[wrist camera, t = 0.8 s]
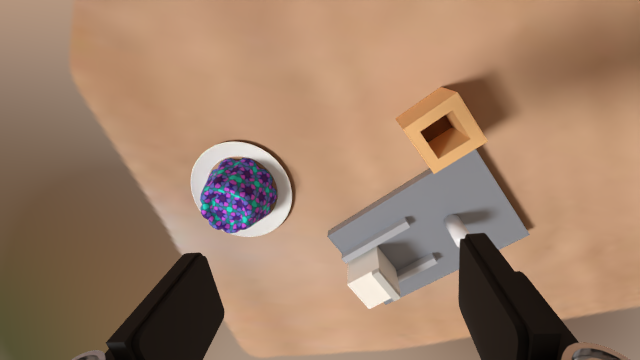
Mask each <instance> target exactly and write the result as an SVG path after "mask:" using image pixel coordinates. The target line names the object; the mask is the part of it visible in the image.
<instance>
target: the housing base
mask: <svg viewBox="0 0 640 360" xmlns="http://www.w3.org/2000/svg"><path fill="white" fill-rule="evenodd" d="M474 233H485V234H486V235H487V236H488V237H489V238H490V240H491V241H492V242H493V244H494V245H495V246H496V248H497V249H498V250H499V249H502V248H504V247H506V246H508V245H510V244H512V243H514V242H516V241H518V240H520V239H522V238H524V237H526V236H528V235H530V234H529V233H528V231H527V230H526V228H525V226H524V225H523V223H522V222H521V220H520V218H519V217H518V215H517V214H516V212H515V211H514V209H513V207H512V206H511V204H510V203H509V201H508V199H507V198H506V196H505V195H504V193H503V192H502V190H501V188H500V187H499V185H498V184H497V182H496V180H495V179H494V177H493V176H492V174H491V173H490V171H489V169H488V168H487V166H486V165H485V163H484V161H483V160H482V158H481V157H480V155H479V154H478V152H477V150H476V149H475V150H473V151H471V152H470V153H468V154H466V155H465V156H463V157H461V158H460V159H458V160H457V161H455V162H453V163H452V164H450V165H448V166H447V167H445V168H443V169H442V170H440V171H438V172H437V173H435V174H433V172H432V171H431V169H430V168H429V169H428V170H426V171H425V172H423V173H421V174H420V175H418V176H416V177H415V178H413V179H412V180H410V181H408V182H407V183H405V184H404V185H402V186H400V187H399V188H397V189H395V190H394V191H392V192H391V193H389V194H387V195H386V196H384V197H382V198H381V199H379V200H378V201H376V202H374V203H373V204H371V205H370V206H368V207H366V208H365V209H363V210H361V211H360V212H358V213H357V214H355V215H353V216H352V217H350V218H349V219H347V220H345V221H344V222H342V223H340V224H339V225H337V226H336V227H334V228H332V229H331V230H329V231H328V236H327V237H328V238H329V239H330V240H331V241H332V242H333V244H334V245H335V246H336V247H337V248H338V249H339V251H340V252H341V253H342V260H343V261H344V262H345V263H347V262H349V261H351V260H353V259H355V258H356V257H358V256H360V255H362V254H363V253H365V252H367V251H369V250H371V249H372V248H374V247H376V246H378V248H379V249H380V250H381V251H382V252H383V254H384V255H385V256H386V257H387V259H388V260H389V261H390V262H391V264H392V265H393V266H394V267H395V269H396V272H397V277H398V282H399V287H400V292H401V294H400V297H403V296H405V295H407V294H409V293H411V292H413V291H415V290H417V289H419V288H421V287H423V286H425V285H428V284H430V283H432V282H434V281H436V280H438V279H440V278H442V277H444V276H446V275H448V274H450V273H452V272H454V271H456V270H458V269H459V252H460V239H464V238H465V236H466V234H474ZM391 302H393V299H392V298H391V299H389V300H387V301H385V302H384V303H385V304H388V303H391Z"/></svg>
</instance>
